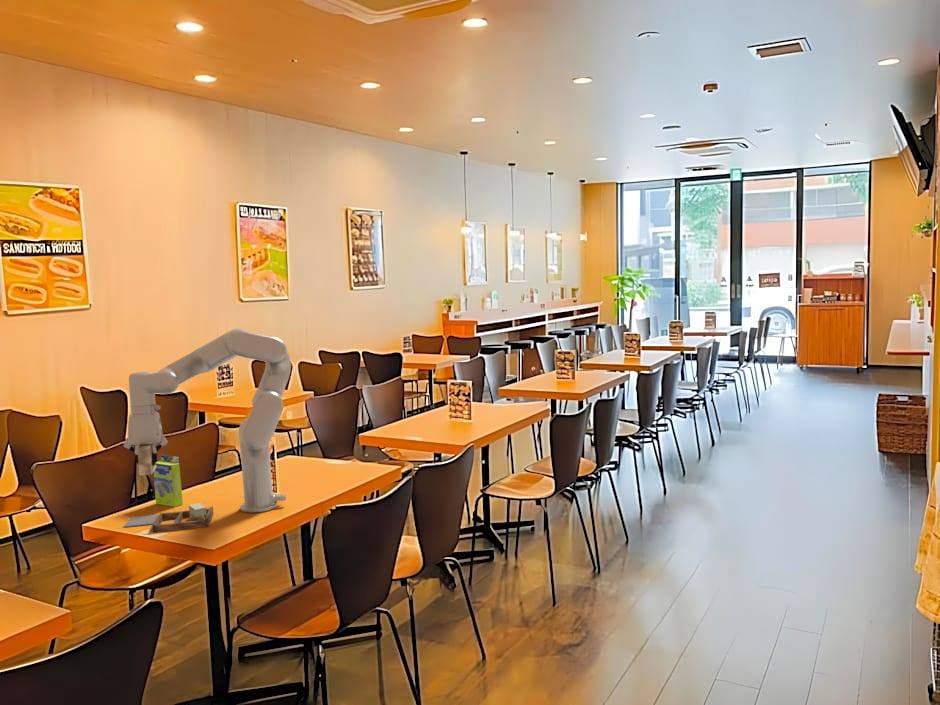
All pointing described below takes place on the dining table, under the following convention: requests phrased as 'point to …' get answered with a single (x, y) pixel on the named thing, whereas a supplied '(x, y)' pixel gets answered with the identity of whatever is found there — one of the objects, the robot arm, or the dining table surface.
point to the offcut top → (197, 510)
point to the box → (168, 482)
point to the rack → (178, 524)
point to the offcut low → (196, 518)
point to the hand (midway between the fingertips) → (147, 464)
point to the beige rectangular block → (145, 460)
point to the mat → (141, 521)
